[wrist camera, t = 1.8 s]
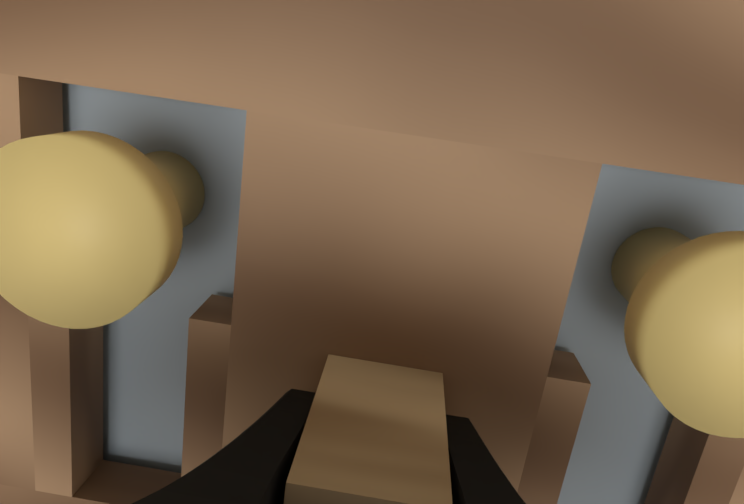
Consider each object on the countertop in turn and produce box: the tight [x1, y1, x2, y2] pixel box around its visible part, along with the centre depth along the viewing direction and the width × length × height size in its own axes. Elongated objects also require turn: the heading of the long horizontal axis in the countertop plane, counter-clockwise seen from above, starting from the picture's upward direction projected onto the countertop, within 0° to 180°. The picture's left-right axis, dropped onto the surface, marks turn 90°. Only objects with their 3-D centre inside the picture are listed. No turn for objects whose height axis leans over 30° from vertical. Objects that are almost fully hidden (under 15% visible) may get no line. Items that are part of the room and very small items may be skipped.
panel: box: [0, 0, 744, 504], centre depth 11 cm, size 16×20×5 cm
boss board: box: [0, 83, 744, 504], centre depth 12 cm, size 22×20×5 cm
